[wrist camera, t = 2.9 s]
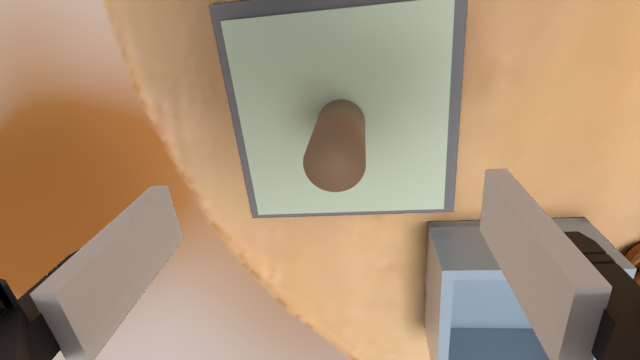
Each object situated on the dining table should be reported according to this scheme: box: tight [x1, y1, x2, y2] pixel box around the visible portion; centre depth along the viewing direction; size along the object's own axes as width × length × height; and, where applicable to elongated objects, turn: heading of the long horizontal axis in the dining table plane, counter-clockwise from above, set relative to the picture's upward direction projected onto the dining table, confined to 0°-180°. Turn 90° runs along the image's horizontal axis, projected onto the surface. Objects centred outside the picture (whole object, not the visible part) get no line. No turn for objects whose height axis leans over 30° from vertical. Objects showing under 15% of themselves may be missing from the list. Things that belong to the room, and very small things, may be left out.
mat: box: [209, 0, 468, 218], centre depth 26 cm, size 16×16×1 cm
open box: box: [425, 217, 637, 360], centre depth 29 cm, size 12×12×6 cm
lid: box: [221, 0, 455, 215], centre depth 23 cm, size 14×14×8 cm
